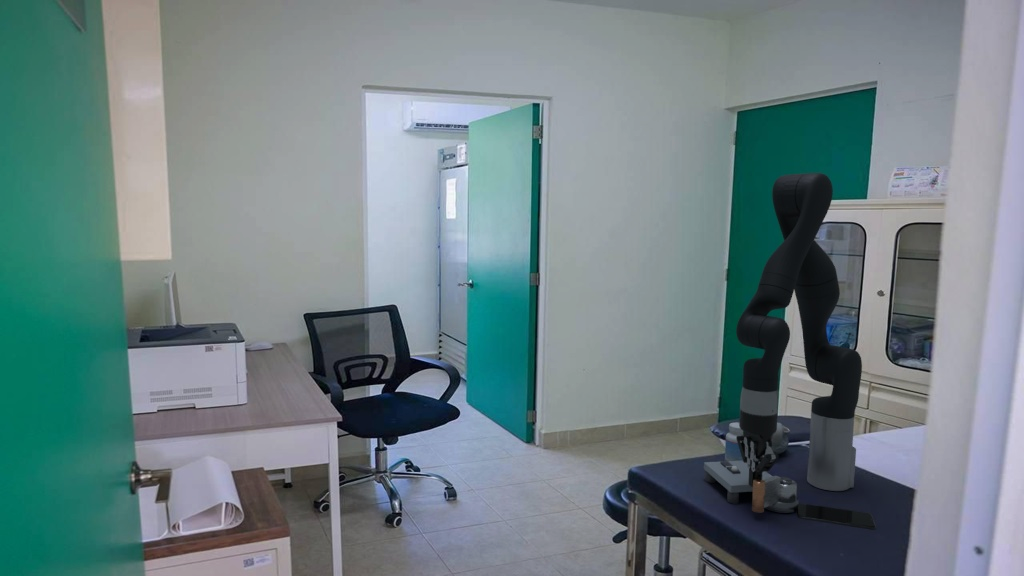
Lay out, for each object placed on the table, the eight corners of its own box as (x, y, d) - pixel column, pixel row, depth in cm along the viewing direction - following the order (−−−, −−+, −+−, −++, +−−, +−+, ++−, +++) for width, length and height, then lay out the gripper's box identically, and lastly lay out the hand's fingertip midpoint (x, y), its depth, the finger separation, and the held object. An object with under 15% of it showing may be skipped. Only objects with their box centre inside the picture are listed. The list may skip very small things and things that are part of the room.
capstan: (773, 494, 153) (775, 460, 152) (805, 507, 147) (807, 472, 146) (733, 509, 145) (734, 474, 144) (765, 523, 139) (767, 486, 138)
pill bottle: (751, 474, 166) (753, 429, 165) (725, 471, 167) (727, 428, 166) (748, 465, 172) (750, 422, 171) (723, 463, 173) (725, 420, 172)
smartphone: (796, 519, 142) (876, 531, 137) (796, 516, 142) (876, 527, 137) (795, 505, 149) (871, 516, 144) (795, 502, 149) (871, 512, 144)
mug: (779, 446, 186) (781, 411, 185) (800, 463, 174) (803, 425, 172) (744, 446, 185) (746, 411, 184) (764, 463, 173) (766, 425, 172)
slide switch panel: (749, 476, 164) (750, 454, 164) (780, 501, 150) (782, 476, 150) (703, 479, 162) (704, 456, 162) (730, 504, 149) (731, 479, 148)
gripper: (793, 417, 137) (789, 498, 139) (757, 398, 150) (753, 472, 152) (760, 419, 135) (756, 501, 138) (726, 400, 148) (723, 475, 150)
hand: (754, 486), depth 145 cm, fingers closed
